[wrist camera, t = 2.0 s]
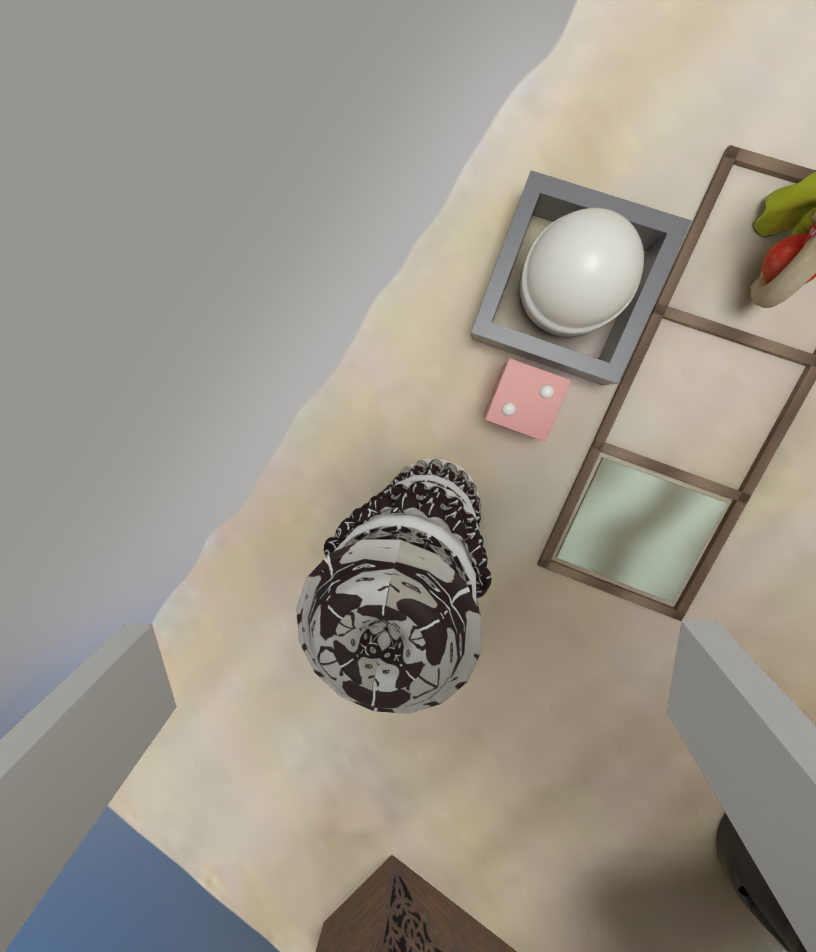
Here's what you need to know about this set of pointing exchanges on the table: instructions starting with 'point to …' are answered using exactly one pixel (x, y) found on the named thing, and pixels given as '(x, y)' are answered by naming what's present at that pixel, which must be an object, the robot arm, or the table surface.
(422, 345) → the table surface
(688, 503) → the frame
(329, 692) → the table surface
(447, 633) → the decorative candle
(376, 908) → the tissue box cover
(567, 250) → the dome
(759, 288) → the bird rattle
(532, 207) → the dome housing
